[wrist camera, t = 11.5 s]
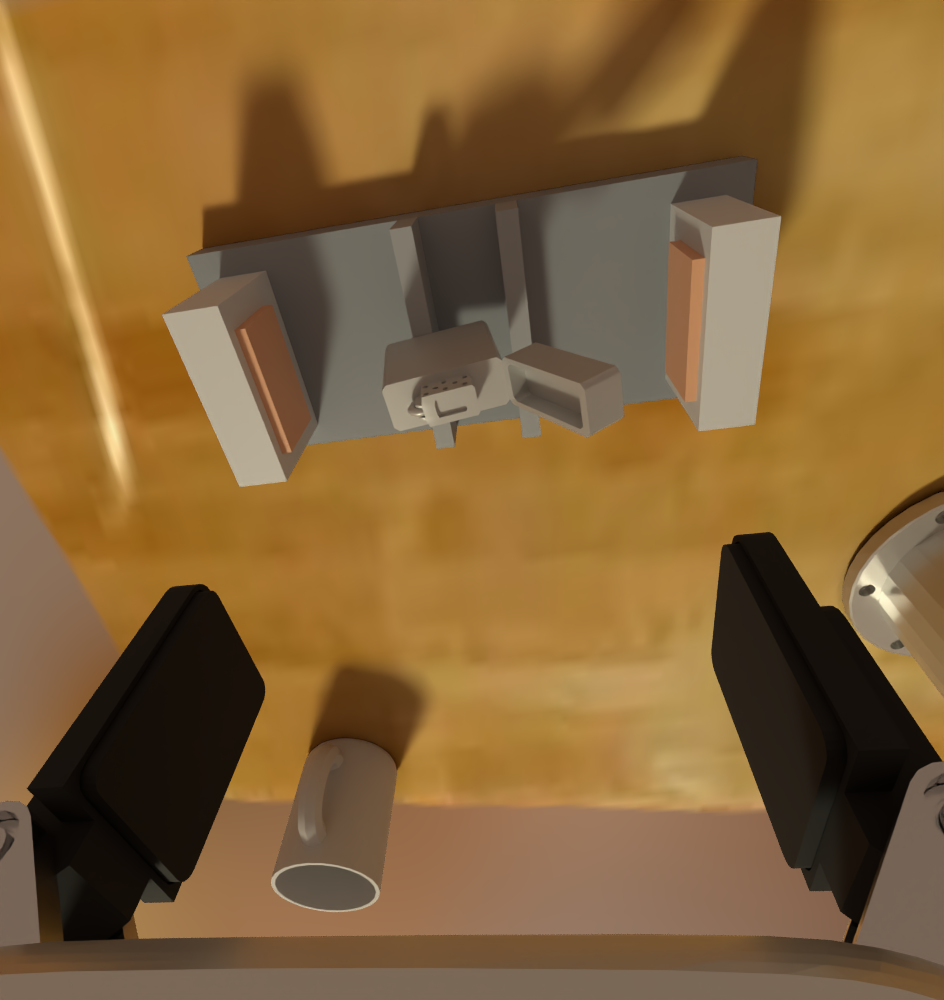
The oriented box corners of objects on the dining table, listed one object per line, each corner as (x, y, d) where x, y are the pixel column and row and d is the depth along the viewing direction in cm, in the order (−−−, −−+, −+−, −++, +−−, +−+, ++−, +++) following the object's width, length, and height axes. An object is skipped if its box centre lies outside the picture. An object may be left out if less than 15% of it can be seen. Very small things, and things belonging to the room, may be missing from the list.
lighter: (396, 385, 24) (394, 488, 17) (383, 345, 23) (375, 438, 16) (565, 342, 23) (630, 429, 17) (559, 299, 23) (626, 374, 16)
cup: (323, 790, 48) (293, 913, 41) (280, 717, 43) (236, 844, 36) (407, 784, 47) (391, 909, 40) (374, 709, 42) (349, 837, 35)
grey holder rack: (742, 156, 22) (822, 172, 17) (723, 377, 27) (780, 445, 22) (201, 248, 25) (120, 288, 19) (274, 435, 30) (226, 509, 24)
